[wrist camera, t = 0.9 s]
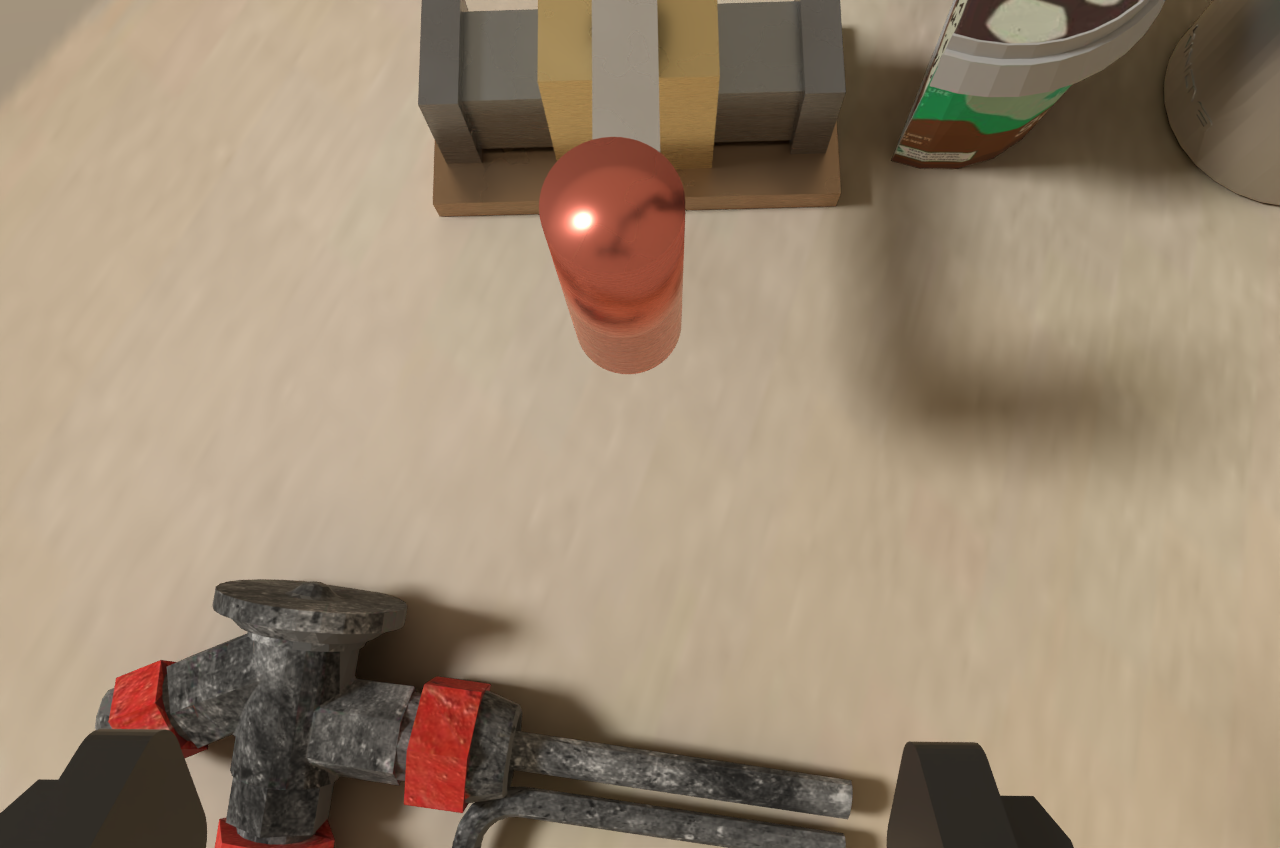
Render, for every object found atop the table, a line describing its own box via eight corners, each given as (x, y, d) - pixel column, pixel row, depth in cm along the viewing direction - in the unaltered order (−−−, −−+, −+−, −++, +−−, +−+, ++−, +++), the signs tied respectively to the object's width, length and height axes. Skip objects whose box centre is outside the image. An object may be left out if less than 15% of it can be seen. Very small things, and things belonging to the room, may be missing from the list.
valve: (106, 945, 37) (174, 547, 38) (794, 1054, 37) (850, 650, 37) (-7, 1044, 31) (78, 563, 31) (825, 1177, 30) (892, 686, 31)
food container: (1025, 245, 39) (1144, 118, 29) (878, 192, 40) (946, 49, 30) (1118, -13, 41) (1257, -212, 31) (976, -59, 42) (1070, -269, 32)
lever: (578, -63, 32) (542, -333, 23) (671, -67, 32) (671, -338, 23) (579, 384, 29) (538, 275, 20) (682, 382, 29) (687, 272, 20)
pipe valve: (825, 27, 41) (867, -137, 32) (835, 206, 40) (883, 85, 31) (444, 39, 42) (384, -120, 33) (439, 216, 40) (374, 99, 31)
